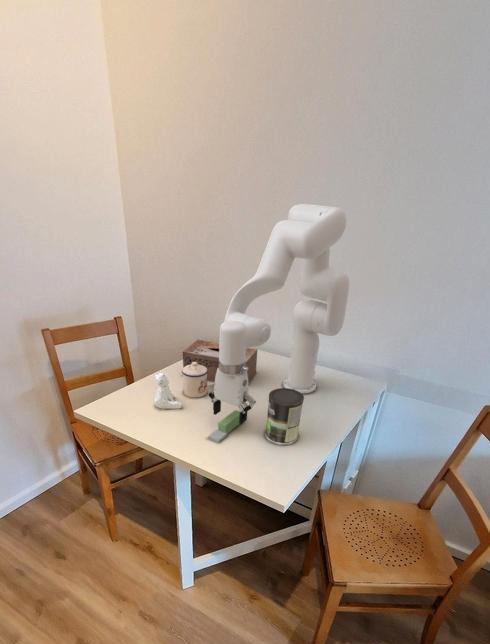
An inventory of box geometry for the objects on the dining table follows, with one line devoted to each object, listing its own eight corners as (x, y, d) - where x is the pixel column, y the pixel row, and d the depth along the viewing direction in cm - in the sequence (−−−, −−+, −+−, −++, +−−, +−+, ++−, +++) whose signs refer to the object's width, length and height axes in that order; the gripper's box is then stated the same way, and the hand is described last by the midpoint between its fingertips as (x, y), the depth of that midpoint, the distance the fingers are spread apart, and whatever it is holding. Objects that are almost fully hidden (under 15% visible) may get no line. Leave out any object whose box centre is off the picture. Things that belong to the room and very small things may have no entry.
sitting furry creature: (183, 408, 133) (181, 376, 126) (159, 414, 130) (156, 381, 122) (173, 396, 139) (170, 365, 132) (150, 402, 136) (146, 370, 129)
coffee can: (267, 445, 117) (272, 404, 108) (262, 427, 125) (266, 388, 116) (301, 444, 117) (307, 404, 109) (294, 426, 126) (299, 387, 117)
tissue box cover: (183, 375, 153) (182, 351, 147) (198, 362, 164) (197, 339, 158) (244, 387, 147) (246, 362, 141) (255, 372, 158) (257, 348, 152)
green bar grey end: (218, 442, 117) (218, 432, 115) (208, 438, 119) (208, 428, 117) (243, 422, 127) (243, 412, 125) (233, 418, 129) (234, 409, 126)
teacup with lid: (202, 400, 138) (201, 369, 131) (179, 395, 140) (177, 365, 133) (213, 385, 147) (213, 356, 140) (191, 382, 149) (190, 353, 142)
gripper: (264, 369, 110) (259, 421, 121) (214, 355, 118) (214, 405, 128) (250, 378, 105) (246, 431, 116) (200, 363, 112) (200, 414, 123)
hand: (229, 417), depth 122 cm, fingers open, 9 cm apart
